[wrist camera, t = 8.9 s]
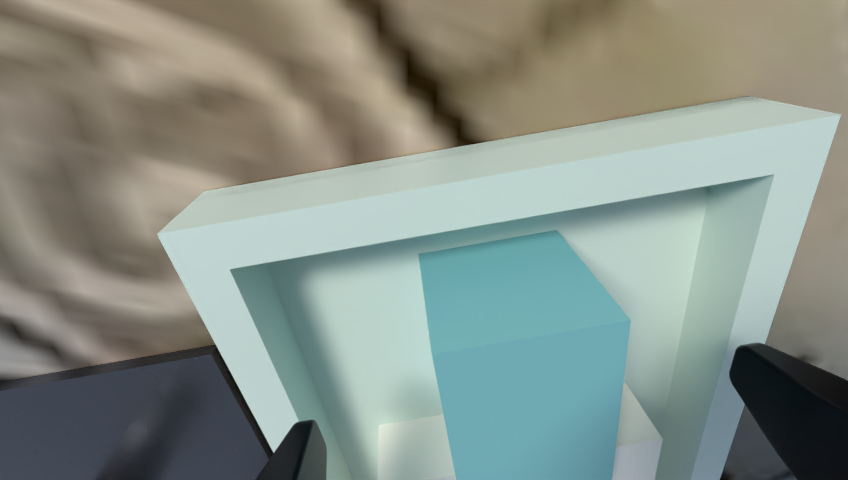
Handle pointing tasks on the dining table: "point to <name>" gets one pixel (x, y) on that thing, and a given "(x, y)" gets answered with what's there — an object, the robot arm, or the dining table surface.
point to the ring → (523, 372)
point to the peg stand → (132, 422)
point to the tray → (500, 219)
